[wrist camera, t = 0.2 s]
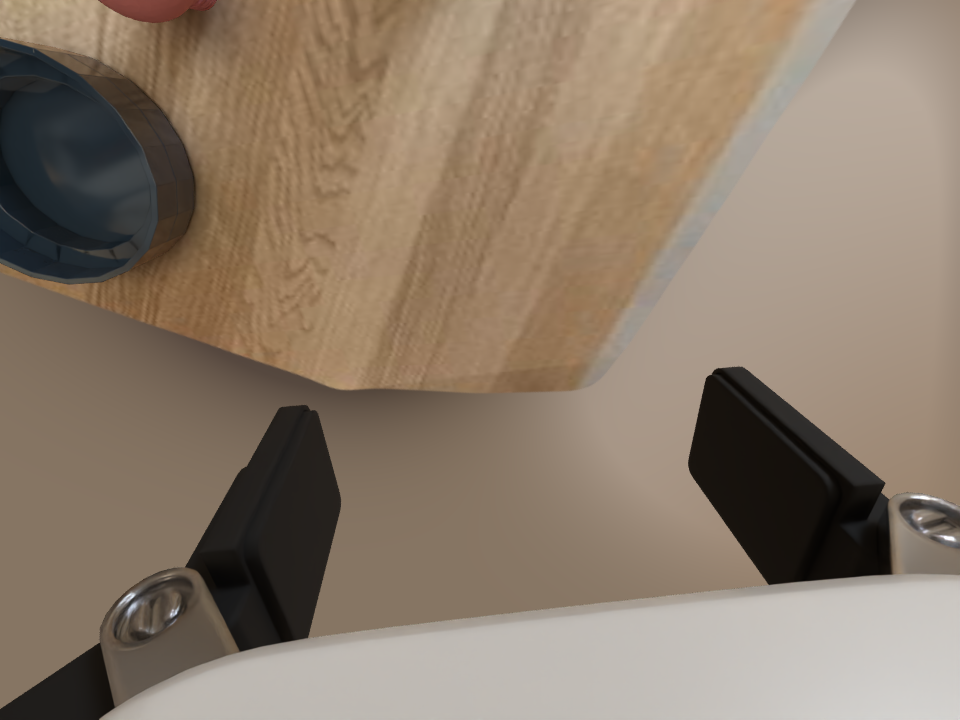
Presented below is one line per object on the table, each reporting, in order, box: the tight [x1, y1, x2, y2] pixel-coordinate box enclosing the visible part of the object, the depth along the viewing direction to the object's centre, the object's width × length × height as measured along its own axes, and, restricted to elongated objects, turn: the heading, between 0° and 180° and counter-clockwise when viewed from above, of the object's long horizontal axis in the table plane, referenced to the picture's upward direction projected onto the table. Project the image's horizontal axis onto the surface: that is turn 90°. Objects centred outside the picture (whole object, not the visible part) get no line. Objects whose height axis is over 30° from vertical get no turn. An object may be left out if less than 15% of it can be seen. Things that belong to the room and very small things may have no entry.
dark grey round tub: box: [0, 37, 194, 284], centre depth 37 cm, size 17×17×6 cm
